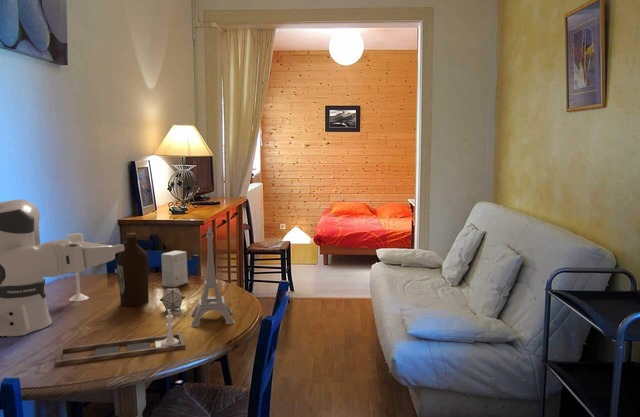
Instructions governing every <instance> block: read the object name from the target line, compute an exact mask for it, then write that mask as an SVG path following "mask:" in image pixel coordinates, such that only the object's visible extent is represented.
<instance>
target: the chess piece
mask: <svg viewBox="0 0 640 417" xmlns="http://www.w3.org/2000/svg"><path fill="white" fill-rule="evenodd" d="M167 312H168V315H166V316H165V319H166V322H167V323H166V324H165V327H167V334H166V335H167V338H166V339H165V340H163V341H162V342H161V346H162V347H163V346H171V345H178V344H180V342H179V339H178V338H177V339H175V338H174V337H173V334H174V333H173V326H174V325H175V324H174V323H173V319H174V315H172V313H171V310H170V309H169V310H167Z"/></svg>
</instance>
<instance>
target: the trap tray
mask: <svg viewBox="0 0 640 417" xmlns="http://www.w3.org/2000/svg"><path fill="white" fill-rule="evenodd" d="M173 337H174V338H177V339H178V340H179V344H178V345H171V346H163V347H156V346H155V347H150V348H148V349H141V350H133V351H127V350H126V351H121V352H120V351H119V352H118V353H111V354H103V355H96V356H95V355H89V356H81V357H76V358H69V359H63V357H64V354H65V353H71V352H72V353H73V352H79V351H87V350H96V348H104V347H111V346H119V347H120V346H127V344H135V343H142V342H149V343H150V342H155V341H158V340H165V339H166V338H167V334H163V335H157V336H156V335H155V336H146V337H140V338H139V337H138V338H132V339H130V338H129V339H123V340H114V341H108V342H99V343H93V344H92V343H91V344H85V345H74V346H68V347H60V348H59V350H58V352H57V357H56V360H55V367H59V366H66V365H74V364H80V363H89V362H95V361H102V360H110V359H111V360H112V359H117V358H124V357H132V356H139V355H148V354H153V353H160V352H168V351H175V350H183V349H186V344H185V343H186V342H185V340H184V337H183V334H182V333H181V332H180V333H173Z"/></svg>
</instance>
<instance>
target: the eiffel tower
mask: <svg viewBox="0 0 640 417" xmlns="http://www.w3.org/2000/svg"><path fill="white" fill-rule="evenodd" d="M211 228H212V227H211V226H208V227H207V231H206V239H207V260H206V261H207V263H206V275H205V280H204V287H203V292H202V294H201V297H199V298H198V303H197V304H196V306H195V308H193V311H192V312H191V313H190V317H193V319H192V321H191V323H190V328H195V327H196V328H197V327H200V321H201V319H202V317H203V316H204V315H205V314H206V313H207V312H210V311H215V312H217V313H218V312H219V313H220V314H221V315H222V316H223V318H224V319H225V325H232V324H233V325H234V324H235V320H234V319H233V317H232V316H231V314H233V309H231V307H230V306H229V305H228V304H227V303H226V301H225V297H224V296H223V295H222V294H221V291H220V289H219V286H218V279H216V273H215V272H216V271H215V264H214V263H215V262H214V252H213V251H214V250H213V238H214V235H213V231H212V229H211ZM210 289H213V293H214V296H209V291H210Z"/></svg>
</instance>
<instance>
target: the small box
mask: <svg viewBox="0 0 640 417" xmlns="http://www.w3.org/2000/svg"><path fill="white" fill-rule="evenodd" d="M187 253H188V252H187V251H183V250H172V251H169V252H168V251H167V252H164V253H161V254H160V255H161V257H160V258H161V278H162V286H163V287H170V288H177V287H179V286H181V285H185V284H187V283H189V282H188V280H189V279H188V278H189V277H188V257H187V255H188V254H187Z"/></svg>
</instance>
